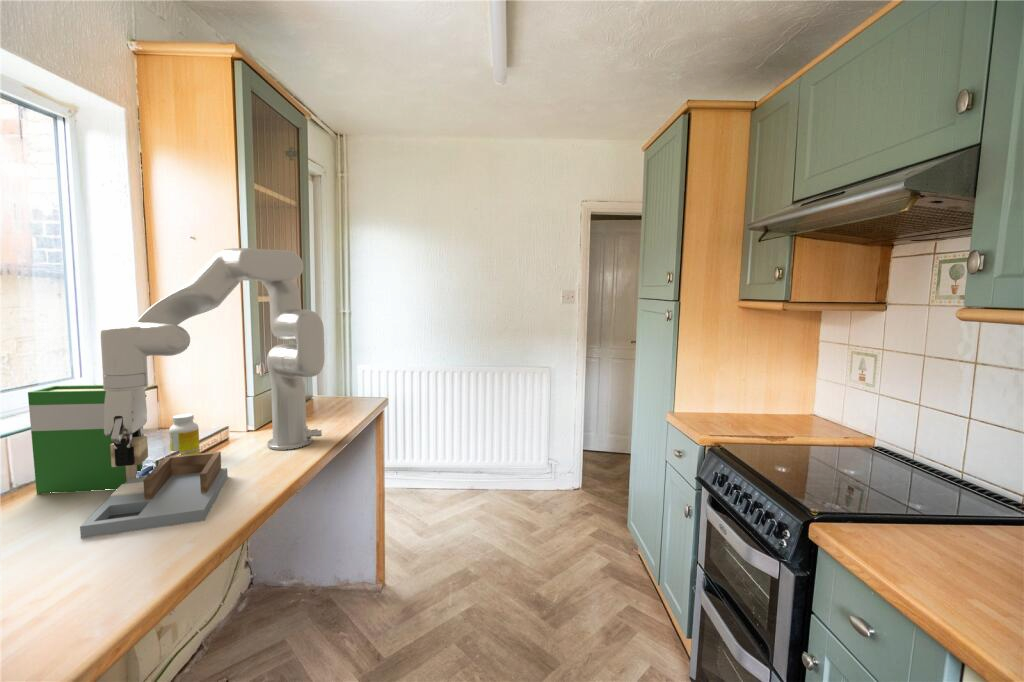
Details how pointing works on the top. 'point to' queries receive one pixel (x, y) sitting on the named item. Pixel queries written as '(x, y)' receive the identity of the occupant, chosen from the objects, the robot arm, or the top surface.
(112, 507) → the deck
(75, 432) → the hardback book
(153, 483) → the brown wooden u-shaped frame
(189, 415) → the supplement bottle
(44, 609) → the top surface
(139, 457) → the block
